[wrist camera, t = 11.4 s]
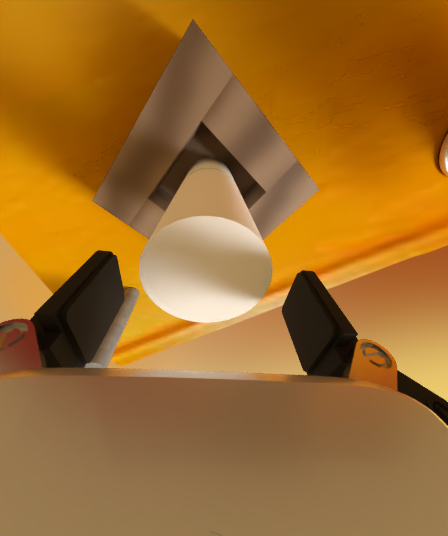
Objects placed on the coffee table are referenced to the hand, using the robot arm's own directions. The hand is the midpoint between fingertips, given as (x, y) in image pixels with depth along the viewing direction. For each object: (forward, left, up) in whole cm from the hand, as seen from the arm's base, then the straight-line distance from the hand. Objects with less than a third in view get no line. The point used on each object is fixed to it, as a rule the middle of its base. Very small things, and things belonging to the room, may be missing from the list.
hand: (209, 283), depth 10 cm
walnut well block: (0, 0, -26) cm, 26 cm away
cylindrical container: (0, 0, -26) cm, 26 cm away
